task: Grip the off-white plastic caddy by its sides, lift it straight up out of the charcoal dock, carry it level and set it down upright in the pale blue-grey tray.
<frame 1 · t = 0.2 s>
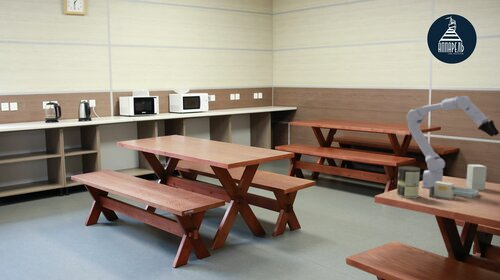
hand: (495, 134, 242), 31 cm above the table, tool tilted 45°, fingers open, 7 cm apart
dock: (443, 196, 245), on the table
caddy: (443, 196, 245), on the table
supplement box: (475, 188, 264), on the table
coffee can: (407, 196, 245), on the table
tray: (462, 194, 250), on the table
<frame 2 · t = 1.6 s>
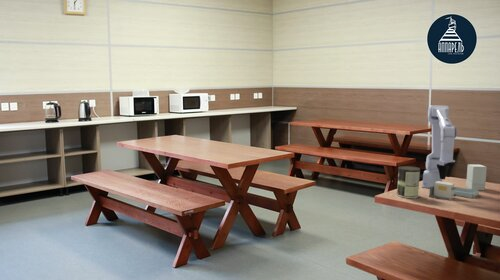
hand: (444, 177, 243), 9 cm above the table, tool pointing down, fingers open, 7 cm apart
nothing on the table moved.
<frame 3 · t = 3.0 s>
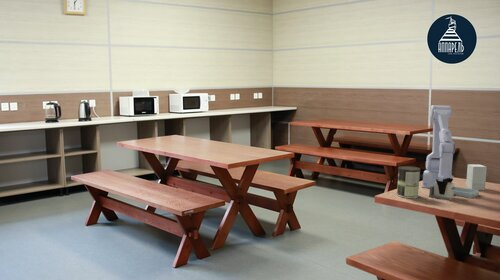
hand: (443, 193, 244), 2 cm above the table, tool pointing down, fingers closed on caddy, 5 cm apart
caddy: (443, 196, 245), on the table, touching gripper
everything else where it was.
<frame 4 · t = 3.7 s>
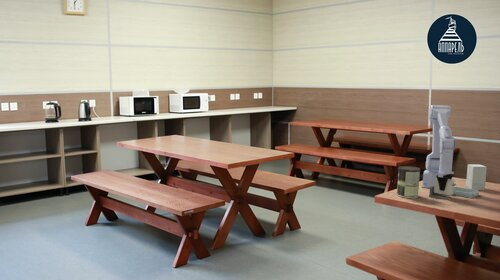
hand: (443, 189, 244), 4 cm above the table, tool pointing down, fingers closed on caddy, 5 cm apart
caddy: (443, 193, 244), point 2 cm above the table, touching gripper
everything else where it was.
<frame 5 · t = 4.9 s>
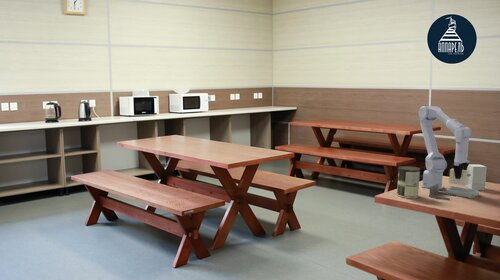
hand: (459, 177, 248), 9 cm above the table, tool pointing down, fingers closed on caddy, 5 cm apart
caddy: (458, 183, 248), point 6 cm above the table, touching gripper
everything else where it was.
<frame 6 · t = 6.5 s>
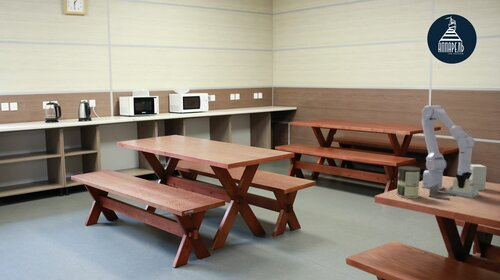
hand: (462, 187, 250), 4 cm above the table, tool pointing down, fingers closed on caddy, 5 cm apart
caddy: (461, 192, 250), point 1 cm above the table, touching gripper, tray
everything else where it was.
when the fingers open (4 cm above the table, at t = 6.6 s): caddy stays where it is, resting on tray.
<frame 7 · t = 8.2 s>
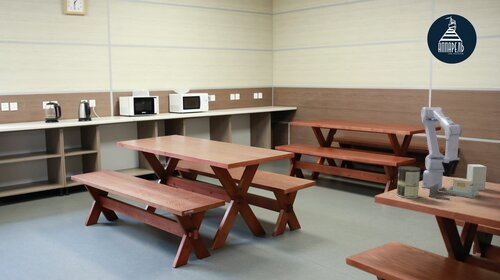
hand: (449, 175, 248), 10 cm above the table, tool pointing down, fingers open, 7 cm apart
caddy: (461, 193, 250), point 1 cm above the table, touching tray
everything else where it was.
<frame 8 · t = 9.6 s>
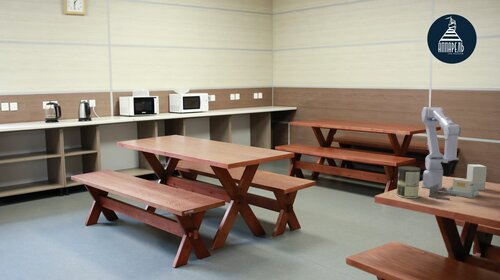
hand: (448, 175, 248), 10 cm above the table, tool pointing down, fingers open, 7 cm apart
nothing on the table moved.
at the end: caddy 0.1 cm off-centre on the tray, point 0.6 cm above the tray's base; caddy tilted 0°; the gripper is holding nothing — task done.
